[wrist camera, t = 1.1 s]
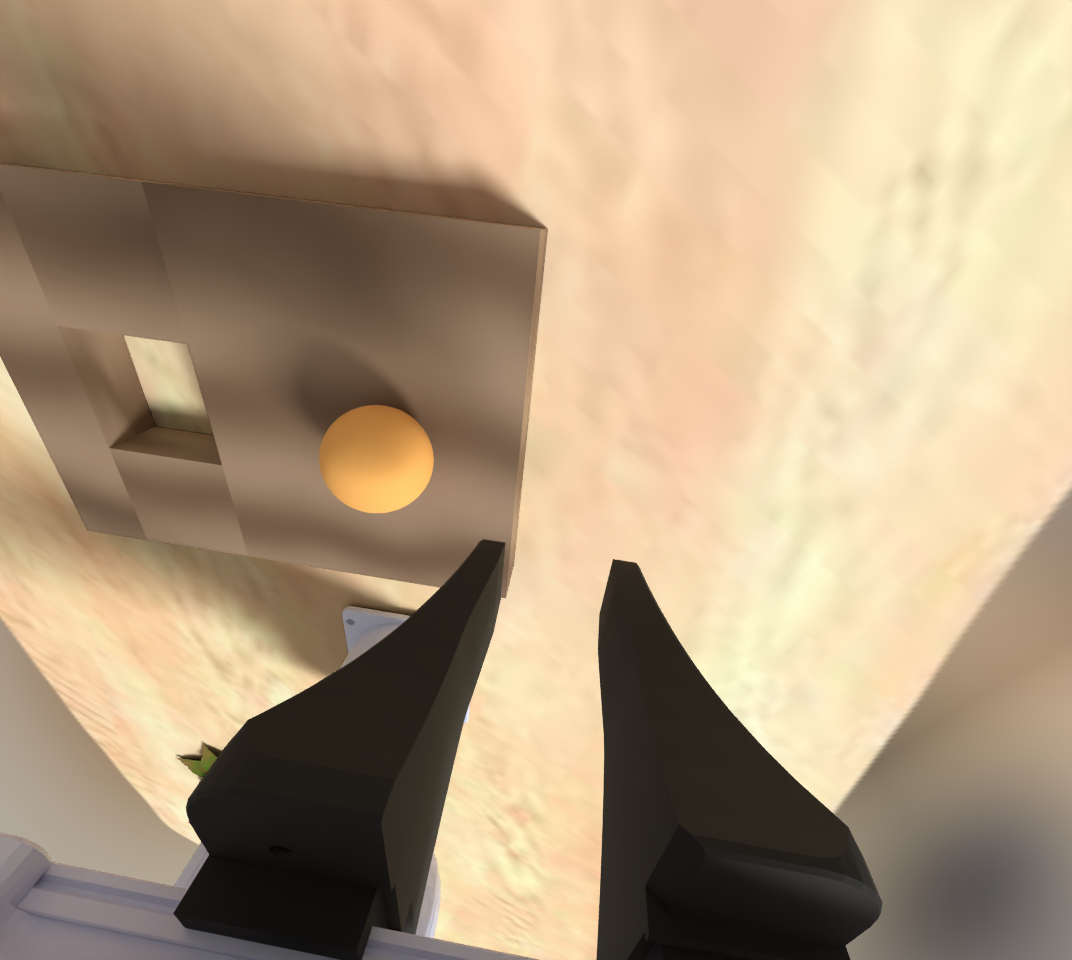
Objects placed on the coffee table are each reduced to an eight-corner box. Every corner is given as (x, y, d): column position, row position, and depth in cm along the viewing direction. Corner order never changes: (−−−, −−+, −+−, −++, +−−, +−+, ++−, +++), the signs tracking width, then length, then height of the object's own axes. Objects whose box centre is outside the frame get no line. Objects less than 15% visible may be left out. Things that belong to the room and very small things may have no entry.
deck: (513, 564, 24) (505, 597, 22) (130, 504, 26) (87, 530, 23) (547, 229, 16) (540, 229, 14) (-16, 160, 17) (-102, 152, 15)
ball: (446, 485, 19) (414, 543, 16) (356, 472, 20) (305, 525, 16) (447, 397, 17) (409, 441, 14) (346, 383, 18) (285, 423, 14)
